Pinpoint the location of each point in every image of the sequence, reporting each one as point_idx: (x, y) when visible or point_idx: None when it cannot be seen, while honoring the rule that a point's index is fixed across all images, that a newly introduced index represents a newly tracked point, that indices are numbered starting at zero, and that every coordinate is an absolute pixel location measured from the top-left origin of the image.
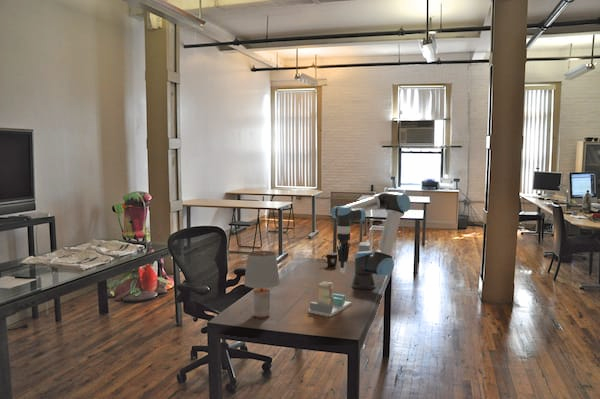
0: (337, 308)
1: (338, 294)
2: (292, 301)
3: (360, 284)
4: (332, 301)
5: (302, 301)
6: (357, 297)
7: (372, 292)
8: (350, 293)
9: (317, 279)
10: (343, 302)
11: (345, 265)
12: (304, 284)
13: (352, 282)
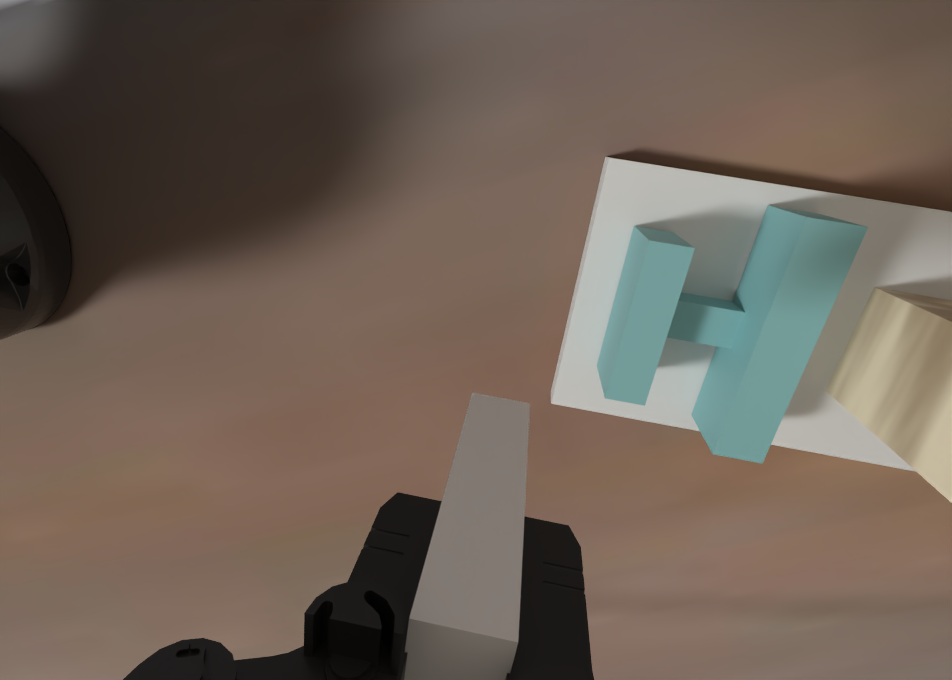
0: (897, 235)
1: (636, 325)
2: (673, 629)
3: (14, 231)
4: (948, 314)
5: (650, 572)
6: (330, 168)
7: (72, 58)
8: (243, 276)
9: (65, 603)
10: (672, 232)
11: (464, 518)
12: (232, 647)
13: (1, 333)
